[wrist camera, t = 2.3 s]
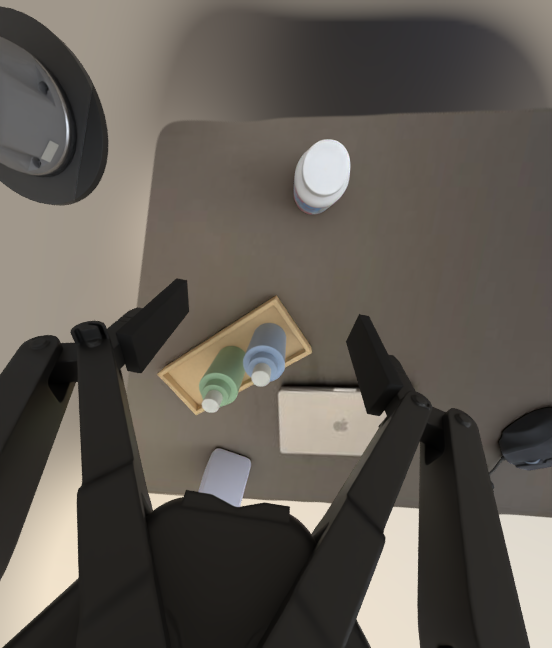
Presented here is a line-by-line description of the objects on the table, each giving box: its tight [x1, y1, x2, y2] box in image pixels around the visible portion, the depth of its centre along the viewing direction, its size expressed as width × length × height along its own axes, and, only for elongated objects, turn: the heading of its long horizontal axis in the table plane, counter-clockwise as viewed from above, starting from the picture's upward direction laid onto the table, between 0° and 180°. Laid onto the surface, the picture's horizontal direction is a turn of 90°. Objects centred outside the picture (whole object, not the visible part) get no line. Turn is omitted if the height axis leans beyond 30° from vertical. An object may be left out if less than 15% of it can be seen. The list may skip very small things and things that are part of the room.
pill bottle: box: [293, 139, 350, 214], centre depth 26 cm, size 6×6×11 cm
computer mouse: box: [489, 408, 552, 492], centre depth 44 cm, size 10×32×6 cm, turn 153°
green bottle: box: [199, 346, 246, 413], centre depth 36 cm, size 6×6×12 cm
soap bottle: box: [198, 448, 251, 507], centre depth 43 cm, size 10×14×22 cm
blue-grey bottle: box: [243, 323, 286, 386], centre depth 34 cm, size 6×6×12 cm
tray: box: [157, 296, 312, 415], centre depth 41 cm, size 28×12×2 cm, turn 124°
